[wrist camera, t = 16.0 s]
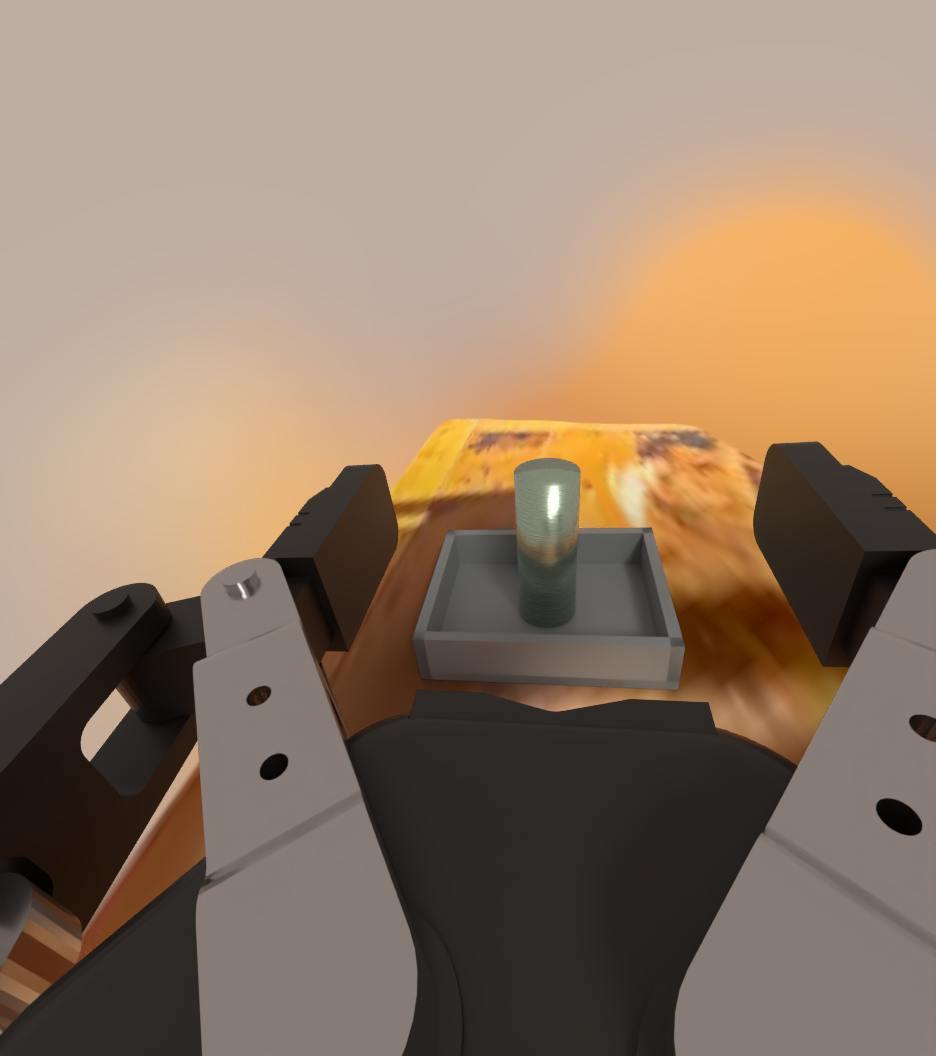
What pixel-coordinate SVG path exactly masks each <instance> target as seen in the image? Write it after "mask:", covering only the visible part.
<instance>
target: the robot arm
mask: <svg viewBox="0 0 936 1056" xmlns="http://www.w3.org/2000/svg"><path fill="white" fill-rule="evenodd" d="M298 513H299V514H298V515H297V516H295V517H294V519H293V520H292V521H291V522H290V526H288V527H286V529H285V530H284V531H283V532H282V534H281V535H280V536H279V537H278V538H277V540H276V541H275V542H274V544H273V545H272V546H271V547H270V548H269V550H268V551H267V552H266V553H265V555H264V556H263V557H262V558H256V559H250V560H245V561H242V562H239V563H236V564H234V565H231V566H229V567H227V568H225V569H223V570H222V571H220V572H219V573H217V574H216V575H215V576H213V577H212V578H211V579H210V580H209V581H208V582H207V583H206V585H205V586H204V587H203V589H202V592H201V596H197V597H193V598H189V599H184V600H179V601H175V602H170V603H166V604H165V602H164V600H163V599H162V597H161V596H160V594H159V592H158V591H157V589H156V588H155V587H154V586H153V585H151V584H147V583H135V584H130V585H126V586H122V587H119V588H116V589H113V590H111V591H109V592H106V593H104V594H102V595H101V596H99V597H97V598H95V599H94V600H92V601H91V602H89V603H88V604H86V605H85V606H84V607H83V608H82V609H80V610H79V611H78V612H77V613H76V614H75V615H74V616H73V617H72V618H71V619H70V620H69V621H68V622H66V623H65V624H64V625H63V626H62V627H61V628H60V629H59V630H58V631H57V632H56V633H55V634H54V635H53V636H52V637H51V638H49V639H48V640H47V641H46V642H45V643H44V644H43V645H42V646H41V647H40V648H39V649H38V650H37V651H36V652H35V653H34V654H33V655H31V656H30V657H29V658H28V659H27V660H26V661H25V662H24V663H23V664H22V665H21V666H20V667H19V668H18V669H17V670H16V671H14V673H12V674H11V675H10V676H9V677H8V678H7V679H6V680H5V681H4V682H3V683H2V684H1V685H0V1056H936V534H935V533H934V532H932V531H931V530H930V529H929V528H928V527H927V526H926V525H925V524H924V523H923V522H922V521H921V520H920V519H919V518H918V517H917V516H916V515H915V514H914V513H912V512H911V511H910V510H906V506H905V505H904V504H903V503H902V502H901V501H900V500H899V499H897V497H892V493H891V492H890V491H889V490H888V489H887V488H886V487H885V486H884V485H883V484H882V483H880V481H879V480H878V479H876V478H875V477H873V476H871V475H869V474H866V473H864V472H862V471H860V470H858V469H856V468H854V467H852V466H850V465H845V466H842V465H841V464H840V463H839V462H838V461H837V460H836V459H835V458H834V457H833V456H832V455H831V454H830V452H829V451H828V450H826V448H825V447H824V446H823V445H822V444H820V443H819V442H800V443H780V444H772V445H771V446H770V447H769V449H768V451H767V454H766V457H765V462H764V467H763V472H762V477H761V481H760V486H759V491H758V496H757V501H756V506H755V510H754V518H753V528H754V535H755V539H756V542H757V544H758V546H759V548H760V550H761V552H762V554H763V555H764V557H765V559H766V561H767V563H768V565H769V567H770V568H771V570H772V572H773V574H774V576H775V578H776V580H777V582H778V583H779V585H780V587H781V589H782V591H783V593H784V595H785V597H786V598H787V600H788V602H789V604H790V606H791V608H792V610H793V611H794V613H795V615H796V617H797V619H798V621H799V623H800V625H801V626H802V628H803V630H804V632H805V634H806V636H807V638H808V639H809V641H810V643H811V645H812V647H813V649H814V651H815V653H816V654H817V656H818V658H819V660H820V662H821V664H822V666H829V667H850V668H849V670H848V672H847V674H846V676H845V678H844V680H843V682H842V683H841V685H840V687H839V689H838V691H837V693H836V695H835V697H834V699H833V701H832V702H831V704H830V706H829V708H828V710H827V712H826V714H825V716H824V718H823V720H822V722H821V723H820V725H819V727H818V729H817V731H816V733H815V735H814V737H813V739H812V741H811V743H810V744H809V746H808V748H807V750H806V752H805V754H804V756H803V758H802V760H801V762H800V763H799V765H798V766H797V765H795V764H794V763H793V762H791V761H790V760H788V759H787V758H785V757H783V756H781V755H780V754H778V753H776V752H774V751H773V750H771V749H769V748H767V747H765V746H763V745H761V744H759V743H757V742H755V741H753V740H750V739H748V738H746V737H743V736H740V735H738V734H735V733H732V732H730V731H727V730H723V729H720V728H716V727H715V724H714V721H713V717H712V713H711V710H710V706H709V703H708V702H685V701H662V700H639V699H628V700H623V701H617V702H611V703H606V704H600V705H594V706H589V707H583V708H577V709H572V710H566V711H559V712H552V711H547V710H543V709H539V708H536V707H532V706H528V705H525V704H521V703H518V702H514V701H510V700H507V699H503V698H500V697H496V696H492V695H489V694H485V693H475V692H452V691H429V690H417V693H416V696H415V700H414V703H413V706H412V710H411V712H408V713H403V714H400V715H396V716H393V717H390V718H387V719H384V720H382V721H380V722H377V723H375V724H372V725H371V726H369V727H367V728H365V729H363V730H361V731H359V732H358V733H356V734H355V735H353V736H352V737H350V734H349V732H348V729H347V726H346V724H345V721H344V719H343V716H342V713H341V711H340V708H339V705H338V703H337V700H336V698H335V695H334V692H333V690H332V687H331V685H330V682H329V679H328V677H327V674H326V672H325V669H324V667H323V664H322V662H321V660H322V658H323V656H324V654H325V652H326V651H346V652H349V650H350V647H351V645H352V643H353V641H354V639H355V637H356V634H357V632H358V630H359V628H360V626H361V623H362V621H363V619H364V617H365V615H366V613H367V610H368V608H369V606H370V604H371V602H372V600H373V597H374V595H375V593H376V591H377V589H378V587H379V584H380V582H381V580H382V578H383V576H384V573H385V571H386V569H387V567H388V565H389V563H390V560H391V558H392V556H393V554H394V552H395V550H396V547H397V543H398V524H397V519H396V515H395V511H394V507H393V503H392V499H391V495H390V491H389V488H388V484H387V480H386V476H385V472H384V470H383V468H382V467H381V466H380V465H378V464H375V465H374V464H373V465H356V466H355V465H354V466H346V467H345V468H344V469H343V471H342V472H341V473H340V474H339V476H338V477H337V478H336V480H335V481H334V482H333V484H332V485H331V486H330V487H329V488H325V489H324V490H322V491H321V492H319V493H318V494H316V495H315V496H313V497H312V498H310V499H309V500H308V501H307V503H306V504H305V505H304V506H303V507H302V509H301V510H300V511H299V512H298ZM115 688H116V689H117V690H118V692H119V693H120V694H121V696H122V697H123V698H124V699H125V701H126V702H127V703H128V704H129V706H130V707H131V709H130V710H129V711H128V713H127V714H126V715H125V717H124V718H123V719H122V721H121V722H120V723H119V725H118V726H117V727H116V728H115V730H114V731H113V732H112V734H111V735H110V736H109V738H108V739H107V740H106V742H105V743H104V744H103V745H102V747H101V748H100V749H99V751H98V752H97V753H96V755H95V756H94V757H93V759H92V760H91V761H90V762H89V761H88V760H87V759H86V758H85V756H84V755H83V753H82V751H81V736H82V732H83V730H84V728H85V726H86V724H87V722H88V721H89V720H90V718H91V717H92V716H93V715H94V714H95V712H96V711H97V710H98V709H99V707H100V706H101V705H102V704H103V703H104V701H105V700H106V699H107V698H108V697H109V695H110V694H111V693H112V691H113V690H114V689H115ZM197 740H198V752H199V766H200V780H201V794H202V808H203V822H204V836H205V850H206V857H204V858H203V859H202V860H201V861H200V862H198V863H197V864H196V865H195V866H194V867H192V868H191V869H190V870H189V871H188V872H186V873H185V874H184V875H183V876H182V877H180V878H179V879H178V880H177V881H176V882H174V883H173V884H172V885H171V886H170V887H168V888H167V889H166V890H165V891H164V892H162V893H161V894H160V895H159V896H158V897H156V898H155V899H154V900H153V901H152V902H150V903H149V904H148V905H147V906H146V907H144V908H143V909H142V910H141V911H140V912H138V913H137V914H136V915H135V916H134V917H132V918H131V919H130V920H129V921H128V922H126V923H125V924H124V925H123V926H122V927H120V928H119V929H118V930H117V931H116V932H114V933H113V934H112V935H111V936H110V937H108V938H107V939H106V940H105V941H104V942H102V943H101V944H100V945H99V946H98V947H96V948H95V949H94V950H93V951H92V952H90V953H89V954H88V955H87V956H86V957H84V958H83V959H82V960H81V961H80V962H78V963H77V964H76V962H77V959H78V956H79V953H80V949H81V944H82V933H83V931H84V930H85V928H86V926H87V925H88V923H89V921H90V920H91V918H92V916H93V915H94V913H95V911H96V910H97V908H98V906H99V905H100V903H101V901H102V900H103V898H104V896H105V895H106V893H107V891H108V890H109V888H110V886H111V885H112V883H113V881H114V879H115V878H116V876H117V874H118V873H119V871H120V869H121V868H122V866H123V864H124V863H125V861H126V859H127V858H128V856H129V854H130V853H131V851H132V849H133V848H134V846H135V844H136V843H137V841H138V839H139V838H140V836H141V834H142V833H143V831H144V829H145V827H146V826H147V824H148V822H149V821H150V819H151V817H152V816H153V814H154V812H155V811H156V809H157V807H158V806H159V804H160V802H161V801H162V799H163V797H164V795H165V794H166V792H167V790H168V789H169V787H170V786H171V784H172V782H173V781H174V779H175V777H176V776H177V774H178V772H179V771H180V769H181V767H182V766H183V764H184V762H185V760H186V759H187V757H188V755H189V754H190V752H191V750H192V749H193V747H194V745H195V744H196V742H197Z"/></svg>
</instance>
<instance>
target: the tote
mask: <svg viewBox="0 0 936 1056" xmlns="http://www.w3.org/2000/svg"><path fill="white" fill-rule="evenodd" d="M412 642H413V646H414V650H415V655H416V659H417V663H418V667H419V671H420V676H421V679H434V680H457V681H480V682H503V683H526V684H549V685H572V686H595V687H619V688H642V689H665V690H678V687H679V681H680V675H681V669H682V663H683V657H684V651H685V645H684V641H683V638H682V634H681V631H680V627H679V623H678V620H677V616H676V613H675V609H674V606H673V602H672V599H671V595H670V591H669V588H668V584H667V581H666V577H665V574H664V570H663V567H662V563H661V559H660V556H659V552H658V549H657V545H656V542H655V538H654V535H653V531H652V528H586V529H578V555H577V582H576V610H575V615H574V617H573V619H572V620H571V621H570V622H568V623H567V624H565V625H563V626H560V627H555V628H541V627H537V626H534V625H532V624H530V623H528V622H527V621H525V620H524V619H523V618H522V616H521V614H520V610H519V586H518V560H517V534H516V529H511V530H448V531H447V535H446V538H445V541H444V544H443V547H442V550H441V553H440V556H439V559H438V562H437V565H436V568H435V571H434V574H433V577H432V580H431V583H430V586H429V589H428V592H427V595H426V598H425V601H424V604H423V607H422V610H421V613H420V616H419V619H418V622H417V625H416V628H415V631H414V634H413V637H412Z"/></svg>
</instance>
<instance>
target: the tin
mask: <svg viewBox="0 0 936 1056" xmlns="http://www.w3.org/2000/svg"><path fill="white" fill-rule="evenodd" d="M580 473H581V472H580V468H579V467H578V466H577V465H576V464H574V463H572V462H570V461H566V460H562V459H555V458H543V459H535V460H531V461H527V462H525V463H522V464H521V465H519V466H518V467H517V468H516V469H515V471H514V481H515V508H516V534H517V560H518V586H519V610H520V614H521V616H522V618H523V619H524V620H525V621H527V622H528V623H530V624H532V625H534V626H537V627H541V628H555V627H560V626H563V625H565V624H567V623H568V622H570V621H571V620H572V619H573V617H574V615H575V610H576V582H577V555H578V527H579V500H580Z"/></svg>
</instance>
